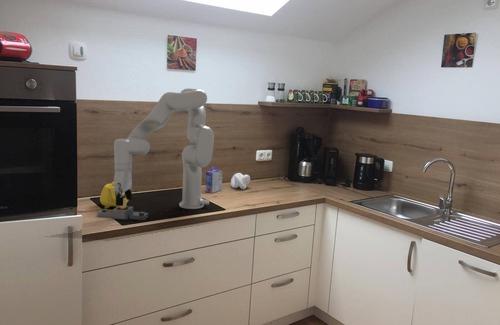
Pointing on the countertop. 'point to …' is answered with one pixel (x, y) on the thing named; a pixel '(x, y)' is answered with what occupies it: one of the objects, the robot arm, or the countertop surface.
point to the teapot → (109, 196)
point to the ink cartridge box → (213, 180)
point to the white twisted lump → (240, 181)
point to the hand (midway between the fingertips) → (124, 202)
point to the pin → (123, 203)
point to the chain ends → (122, 214)
